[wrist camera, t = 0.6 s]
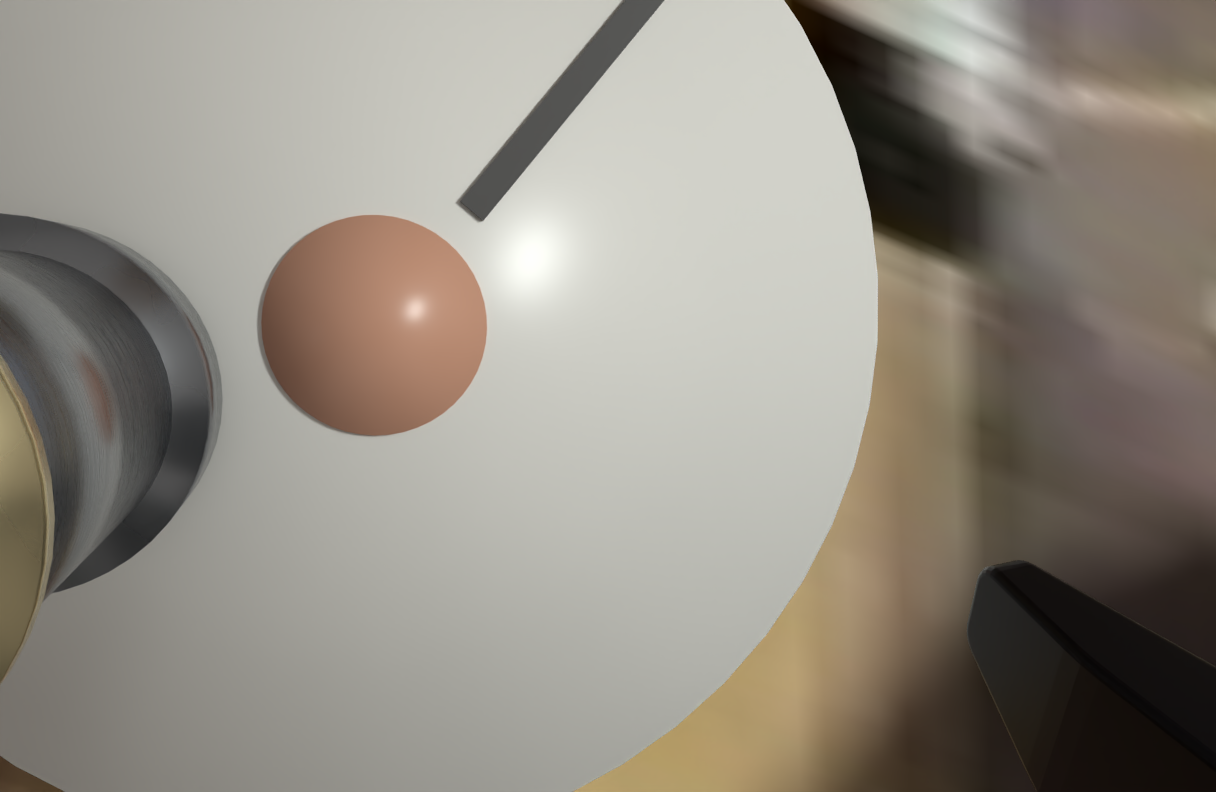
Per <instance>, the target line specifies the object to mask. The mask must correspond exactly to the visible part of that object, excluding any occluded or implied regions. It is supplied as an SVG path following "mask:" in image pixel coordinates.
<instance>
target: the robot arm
mask: <svg viewBox="0 0 1216 792" xmlns="http://www.w3.org/2000/svg"><path fill="white" fill-rule="evenodd" d="M967 638H968V643H969V646H970V650H971V652H972V654H973V657H974V659H975V661H976V663H977V665H978V667H979V670H980V672H981V674H982V676H983V678H984V681H985V683H986V685H987V687H988V689H989V691H990V694H991V696H992V698H993V700H994V702H995V704H996V707H997V709H998V711H999V713H1000V715H1001V717H1002V720H1003V722H1004V724H1005V726H1006V728H1007V730H1008V733H1009V735H1010V737H1011V739H1012V741H1013V743H1014V746H1015V748H1016V750H1017V752H1018V754H1019V757H1020V759H1021V761H1022V763H1023V765H1024V767H1025V770H1026V772H1027V774H1028V776H1029V778H1030V780H1031V782H1032V784H1033V786H1034V788H1035V790H1036V792H1216V666H1214V665H1212V664H1210V663H1209V662H1207V661H1205V660H1203V659H1202V658H1200V657H1198V656H1196V655H1194V654H1193V653H1191V652H1189V651H1187V650H1185V649H1184V648H1182V647H1180V646H1178V645H1177V644H1175V643H1173V642H1171V641H1169V640H1168V639H1166V638H1164V637H1162V636H1160V635H1159V634H1157V633H1155V632H1153V631H1152V630H1150V629H1148V628H1146V627H1144V626H1143V625H1141V624H1139V623H1137V622H1135V621H1134V620H1132V619H1130V618H1128V617H1127V616H1125V615H1123V614H1121V613H1119V612H1118V611H1116V610H1114V609H1112V608H1110V607H1109V606H1107V605H1105V604H1103V603H1102V602H1100V601H1098V600H1096V599H1094V598H1093V597H1091V596H1089V595H1087V594H1085V593H1084V592H1082V591H1080V590H1078V589H1077V588H1075V587H1073V586H1071V585H1069V584H1068V583H1066V582H1064V581H1062V580H1060V579H1059V578H1057V577H1055V576H1053V575H1052V574H1050V573H1048V572H1046V571H1044V570H1043V569H1041V568H1039V567H1037V566H1035V565H1034V564H1031V563H1029V562H1026V561H1021V560H1017V561H1011V562H1006V563H1002V564H997V565H992V566H988V567H986V568H984V569H983V570H982V572H981V573H980V574H979V576H978V579H977V584H976V588H975V592H974V597H973V601H972V605H971V610H970V614H969V618H968V623H967Z"/></svg>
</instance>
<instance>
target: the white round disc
mask: <svg viewBox="0 0 1216 792" xmlns="http://www.w3.org/2000/svg"><path fill="white" fill-rule="evenodd" d="M0 213H2V214H11V215H20V216H29V217H34V218H39V219H44V220H49V221H54V222H59V223H63V224H68V225H72V226H76V227H81V228H85V229H88V230H90V231H93V232H96V233H99V234H101V235H104V236H107V237H109V238H111V239H113V240H115V241H117V242H119V243H121V244H123V245H125V246H127V247H129V248H131V249H133V250H134V251H136V252H137V253H139V254H140V255H142V256H143V257H145V258H146V259H148V260H149V261H151V262H152V263H153V264H154V265H155V266H157V267H158V268H159V269H160V270H161V271H162V272H163V273H165V274H166V275H167V276H168V277H169V278H170V279H171V280H172V281H173V282H174V283H175V284H176V285H177V287H178V288H179V289H180V290H181V291H182V292H183V293H184V294H185V295H186V297H187V298H188V300H189V301H190V303H191V304H192V306H193V307H194V308H195V310H196V311H197V313H198V314H199V316H200V318H201V320H202V322H203V324H204V326H205V328H206V330H207V332H208V334H209V336H210V339H211V341H212V344H213V347H214V350H215V353H216V356H217V360H218V365H219V370H220V375H221V383H222V398H223V402H222V415H221V424H220V429H219V433H218V438H217V443H216V446H215V448H214V451H213V454H212V456H211V459H210V462H209V464H208V466H207V468H206V470H205V472H204V474H203V476H202V478H201V479H200V481H199V483H198V485H197V486H196V487H195V489H194V490H193V492H192V493H191V494H190V496H189V497H188V498H187V500H186V501H185V503H184V504H183V505H182V506H181V508H180V509H179V510H178V511H177V513H176V514H175V515H174V517H173V518H172V519H171V520H170V522H169V523H168V524H167V525H166V526H165V527H164V528H163V530H162V531H161V532H160V533H159V534H158V535H157V536H156V537H155V538H154V539H153V540H152V541H151V542H150V543H149V544H148V545H147V546H145V547H144V548H143V549H142V550H140V551H139V552H138V553H137V554H136V555H134V556H133V557H132V558H131V559H129V560H127V561H126V562H124V563H123V564H121V565H119V566H118V567H116V568H115V569H113V570H111V571H110V572H108V573H106V574H104V575H102V576H100V577H97V578H95V579H93V580H91V581H89V582H87V583H84V584H81V585H78V586H75V587H72V588H69V589H66V590H63V591H60V592H55V593H51V594H50V595H49V596H48V597H47V598H46V600H45V601H44V602H43V603H42V604H41V607H40V610H39V613H38V615H37V618H36V621H35V623H34V626H33V629H32V632H31V634H30V636H29V638H28V640H27V642H26V644H25V645H24V647H23V649H22V651H21V653H20V655H19V657H18V659H17V660H16V662H15V664H14V666H13V668H12V670H11V671H10V672H9V674H8V675H7V677H6V678H5V679H4V681H3V682H2V683H1V685H0V756H1V757H3V758H4V759H6V760H7V761H9V762H10V763H11V764H13V765H14V766H16V767H18V768H20V769H22V770H24V771H26V772H28V773H30V774H31V775H33V776H35V777H37V778H39V779H41V780H43V781H45V782H47V783H49V784H51V785H53V786H55V787H57V788H59V789H61V790H63V791H64V792H573V791H575V790H577V789H578V788H580V787H582V786H584V785H586V784H588V783H589V782H591V781H593V780H595V779H597V778H599V777H600V776H602V775H604V774H606V773H608V772H610V771H611V770H613V769H615V768H617V767H619V766H621V765H622V764H624V763H625V762H627V761H628V760H630V759H631V758H632V757H634V756H635V755H637V754H638V753H639V752H641V751H642V750H644V749H645V748H646V747H648V746H649V745H651V744H652V743H654V742H655V741H656V740H658V739H659V738H661V737H662V736H663V735H665V734H666V733H668V732H669V731H670V730H672V729H673V728H675V727H676V726H677V725H678V724H679V723H681V722H682V721H683V720H684V719H685V718H686V717H687V716H688V715H689V714H691V713H692V712H693V711H694V710H695V709H696V708H697V707H698V706H699V705H700V704H702V703H703V702H704V701H705V700H706V699H707V698H708V697H709V696H710V695H712V694H713V693H714V692H715V691H716V690H717V689H718V688H719V687H720V686H721V685H723V684H724V683H725V682H726V680H727V679H728V678H729V677H730V676H731V675H732V674H733V672H734V671H735V670H736V669H737V668H738V667H739V666H740V664H741V663H742V662H743V661H744V660H745V659H746V658H747V656H748V655H749V654H750V653H751V652H752V651H753V649H754V648H755V647H756V646H757V645H758V644H759V643H760V641H761V640H762V639H763V638H764V637H765V636H766V635H767V633H768V632H769V630H770V629H771V627H772V626H773V624H774V623H775V621H776V620H777V618H778V617H779V616H780V614H781V613H782V611H783V610H784V608H785V607H786V605H787V604H788V602H789V601H790V599H791V598H792V597H793V595H794V594H795V592H796V591H797V589H798V588H799V586H800V585H801V583H802V582H803V580H804V578H805V576H806V574H807V572H808V570H809V568H810V567H811V565H812V563H813V561H814V559H815V557H816V555H817V553H818V551H819V549H820V547H821V545H822V544H823V542H824V540H825V538H826V536H827V534H828V532H829V530H830V528H831V526H832V524H833V521H834V519H835V516H836V513H837V511H838V508H839V505H840V503H841V500H842V497H843V495H844V492H845V490H846V487H847V484H848V482H849V479H850V476H851V474H852V471H853V468H854V465H855V461H856V457H857V453H858V449H859V445H860V441H861V437H862V433H863V429H864V425H865V421H866V417H867V413H868V409H869V405H870V397H871V389H872V381H873V373H874V365H875V357H876V349H877V338H878V274H877V266H876V257H875V248H874V239H873V231H872V222H871V213H870V209H869V204H868V200H867V196H866V192H865V188H864V184H863V179H862V175H861V171H860V167H859V163H858V158H857V154H856V150H855V147H854V144H853V141H852V139H851V136H850V133H849V130H848V128H847V125H846V122H845V120H844V117H843V114H842V112H841V109H840V106H839V103H838V101H837V98H836V95H835V93H834V90H833V87H832V85H831V83H830V81H829V79H828V77H827V75H826V73H825V71H824V69H823V67H822V65H821V63H820V62H819V60H818V58H817V56H816V54H815V52H814V50H813V48H812V46H811V44H810V42H809V40H808V38H807V36H806V34H805V32H804V30H803V28H802V27H801V25H800V23H799V22H798V20H797V19H796V17H795V16H794V14H793V13H792V11H791V10H790V9H789V7H788V6H787V4H786V3H785V1H784V0H0Z"/></svg>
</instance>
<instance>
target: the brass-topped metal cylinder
mask: <svg viewBox="0 0 1216 792" xmlns="http://www.w3.org/2000/svg"><path fill="white" fill-rule="evenodd" d="M222 402H223V398H222V383H221V375H220V370H219V365H218V360H217V356H216V353H215V350H214V347H213V344H212V341H211V339H210V336H209V334H208V332H207V330H206V328H205V326H204V324H203V322H202V320H201V318H200V316H199V314H198V313H197V311H196V310H195V308H194V307H193V306H192V304H191V303H190V301H189V300H188V298H187V297H186V295H185V294H184V293H183V292H182V291H181V290H180V289H179V288H178V287H177V285H176V284H175V283H174V282H173V281H172V280H171V279H170V278H169V277H168V276H167V275H166V274H165V273H163V272H162V271H161V270H160V269H159V268H158V267H157V266H155V265H154V264H153V263H152V262H151V261H149V260H148V259H146V258H145V257H143V256H142V255H140V254H139V253H137V252H136V251H134V250H133V249H131V248H129V247H127V246H125V245H123V244H121V243H119V242H117V241H115V240H113V239H111V238H109V237H107V236H104V235H101V234H99V233H96V232H93V231H90V230H88V229H85V228H81V227H76V226H72V225H68V224H63V223H59V222H54V221H49V220H44V219H39V218H34V217H29V216H20V215H11V214H2V213H0V685H1V683H2V682H3V681H4V679H5V678H6V677H7V675H8V674H9V672H10V671H11V670H12V668H13V666H14V664H15V662H16V660H17V659H18V657H19V655H20V653H21V651H22V649H23V647H24V645H25V644H26V642H27V640H28V638H29V636H30V634H31V632H32V629H33V626H34V623H35V621H36V618H37V615H38V613H39V610H40V607H41V604H42V603H43V602H44V601H45V600H46V598H47V597H48V596H49V595H50V594H51V593H55V592H60V591H63V590H66V589H69V588H72V587H75V586H78V585H81V584H84V583H87V582H89V581H91V580H93V579H95V578H97V577H100V576H102V575H104V574H106V573H108V572H110V571H111V570H113V569H115V568H116V567H118V566H119V565H121V564H123V563H124V562H126V561H127V560H129V559H131V558H132V557H133V556H134V555H136V554H137V553H138V552H139V551H140V550H142V549H143V548H144V547H145V546H147V545H148V544H149V543H150V542H151V541H152V540H153V539H154V538H155V537H156V536H157V535H158V534H159V533H160V532H161V531H162V530H163V528H164V527H165V526H166V525H167V524H168V523H169V522H170V520H171V519H172V518H173V517H174V515H175V514H176V513H177V511H178V510H179V509H180V508H181V506H182V505H183V504H184V503H185V501H186V500H187V498H188V497H189V496H190V494H191V493H192V492H193V490H194V489H195V487H196V486H197V485H198V483H199V481H200V479H201V478H202V476H203V474H204V472H205V470H206V468H207V466H208V464H209V462H210V459H211V456H212V454H213V451H214V448H215V446H216V443H217V438H218V433H219V429H220V424H221V415H222Z"/></svg>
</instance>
